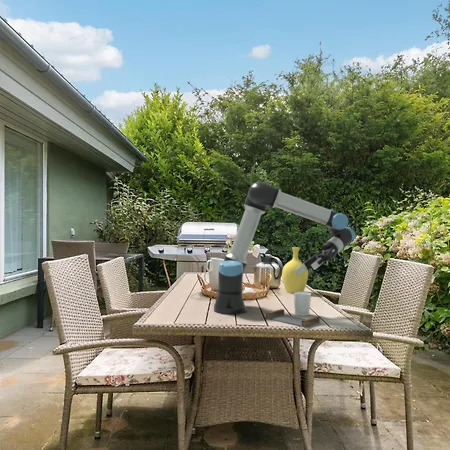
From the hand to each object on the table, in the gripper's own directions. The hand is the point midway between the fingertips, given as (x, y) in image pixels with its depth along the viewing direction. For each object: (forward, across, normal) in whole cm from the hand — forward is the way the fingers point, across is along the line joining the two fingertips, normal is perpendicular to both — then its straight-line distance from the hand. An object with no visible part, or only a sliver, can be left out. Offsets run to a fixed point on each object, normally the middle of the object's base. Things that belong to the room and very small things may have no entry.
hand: (304, 270), depth 190 cm
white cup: (+10, +8, -17) cm, 21 cm away
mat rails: (+21, -1, -14) cm, 25 cm away
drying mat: (+21, -1, -14) cm, 25 cm away
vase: (-26, +59, -20) cm, 67 cm away
